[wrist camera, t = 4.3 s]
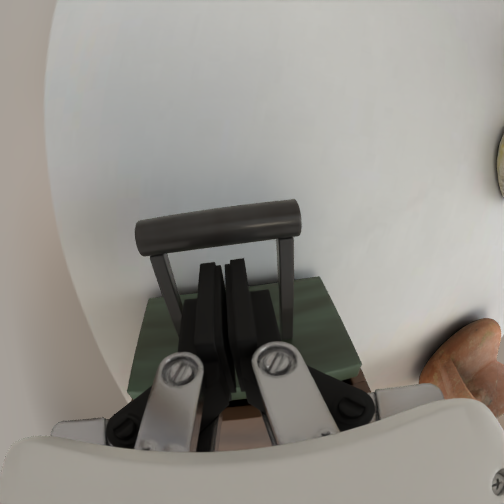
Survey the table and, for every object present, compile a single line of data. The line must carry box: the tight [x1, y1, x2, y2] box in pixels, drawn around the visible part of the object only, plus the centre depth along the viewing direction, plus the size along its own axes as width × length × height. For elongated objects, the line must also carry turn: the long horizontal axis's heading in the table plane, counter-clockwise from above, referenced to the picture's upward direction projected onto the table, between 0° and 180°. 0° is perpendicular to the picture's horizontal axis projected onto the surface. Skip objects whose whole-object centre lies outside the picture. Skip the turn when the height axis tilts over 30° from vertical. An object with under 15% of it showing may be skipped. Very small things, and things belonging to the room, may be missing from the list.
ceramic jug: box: [419, 318, 504, 420], centre depth 22 cm, size 18×14×14 cm
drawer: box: [127, 199, 362, 408], centre depth 16 cm, size 21×11×7 cm, turn 5°
